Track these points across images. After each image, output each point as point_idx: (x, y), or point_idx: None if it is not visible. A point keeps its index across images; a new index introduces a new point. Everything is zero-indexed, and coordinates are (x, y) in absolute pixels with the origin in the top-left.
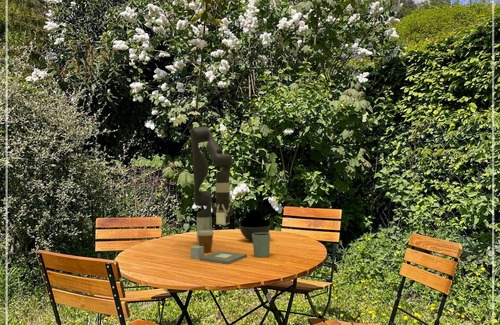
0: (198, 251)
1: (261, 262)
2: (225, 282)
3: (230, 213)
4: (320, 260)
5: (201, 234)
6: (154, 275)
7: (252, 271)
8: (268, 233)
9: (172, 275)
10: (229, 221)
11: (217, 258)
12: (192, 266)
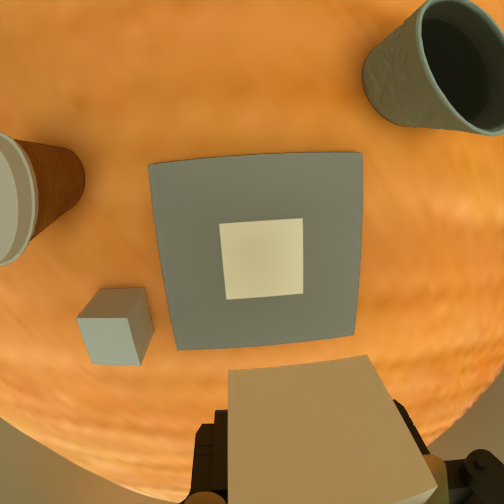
0: (143, 348)
1: (459, 217)
2: None
3: (472, 499)
4: None
5: (5, 262)
6: None
7: (463, 341)
8: (491, 22)
9: None
10: (400, 405)
11: (273, 324)
12: None
